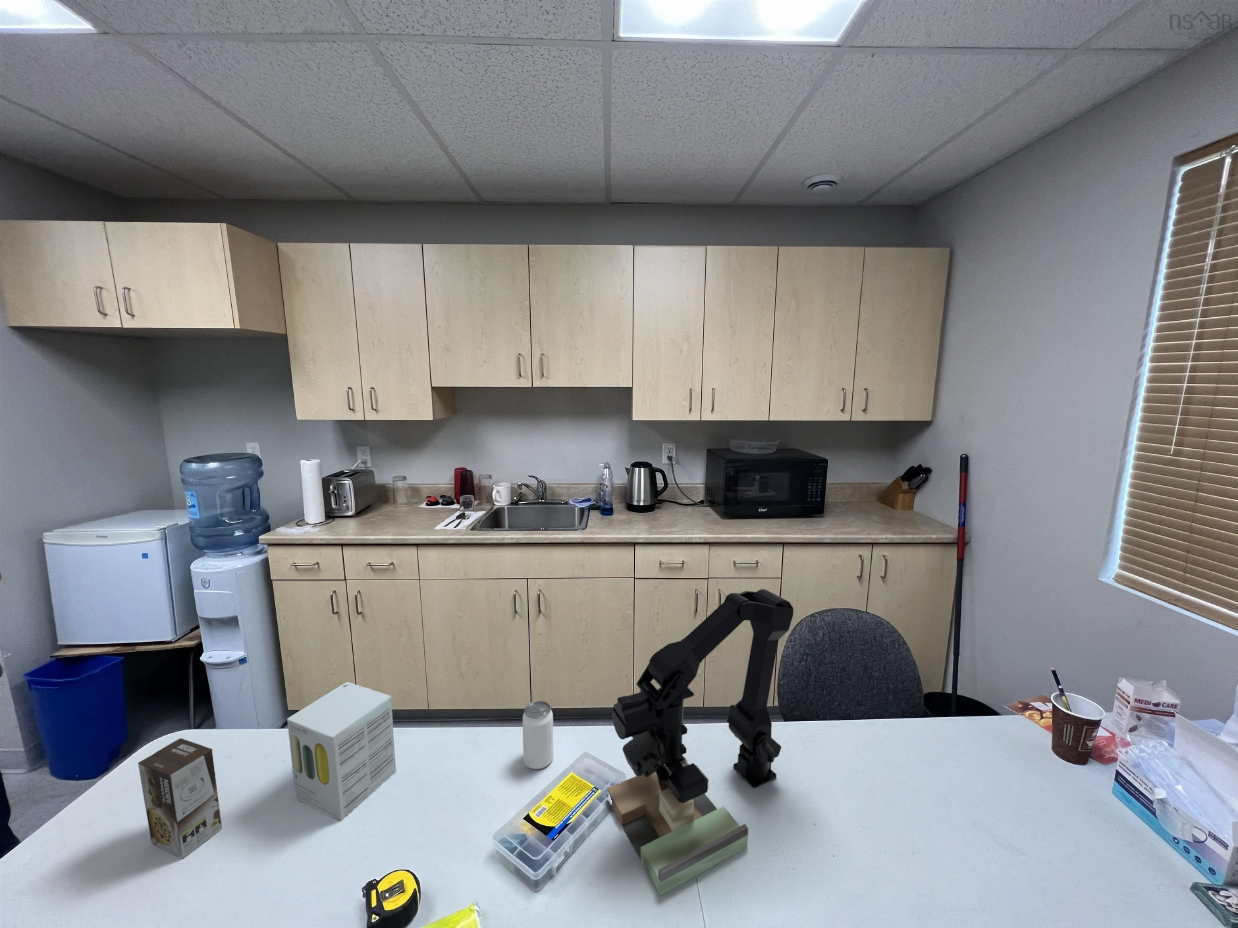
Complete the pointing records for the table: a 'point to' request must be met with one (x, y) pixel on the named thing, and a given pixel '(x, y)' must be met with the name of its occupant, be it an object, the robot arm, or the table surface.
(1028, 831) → the table surface
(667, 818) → the maple block
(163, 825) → the coffee box
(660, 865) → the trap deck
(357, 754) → the supplement box
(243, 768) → the table surface
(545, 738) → the can
